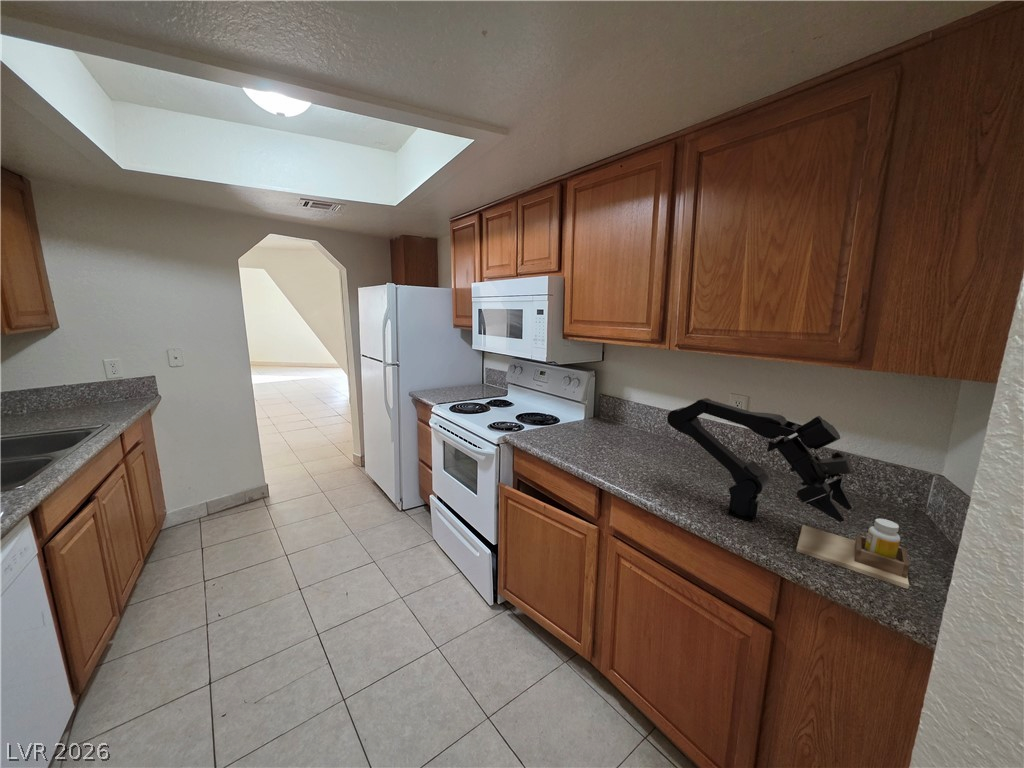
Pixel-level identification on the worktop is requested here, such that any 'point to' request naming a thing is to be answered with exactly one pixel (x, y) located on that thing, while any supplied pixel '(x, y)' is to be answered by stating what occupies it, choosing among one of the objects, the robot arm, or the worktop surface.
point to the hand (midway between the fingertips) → (846, 514)
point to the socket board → (854, 555)
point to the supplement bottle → (883, 538)
